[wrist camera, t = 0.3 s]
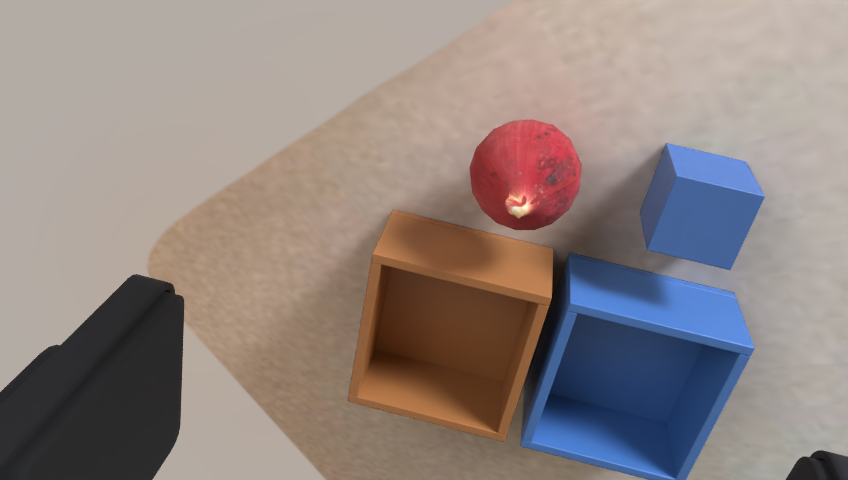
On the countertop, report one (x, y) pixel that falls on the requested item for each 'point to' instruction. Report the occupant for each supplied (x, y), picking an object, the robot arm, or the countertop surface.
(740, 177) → the blue block
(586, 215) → the countertop surface
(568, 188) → the onion
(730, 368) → the blue bin
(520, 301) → the brown bin
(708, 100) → the countertop surface
